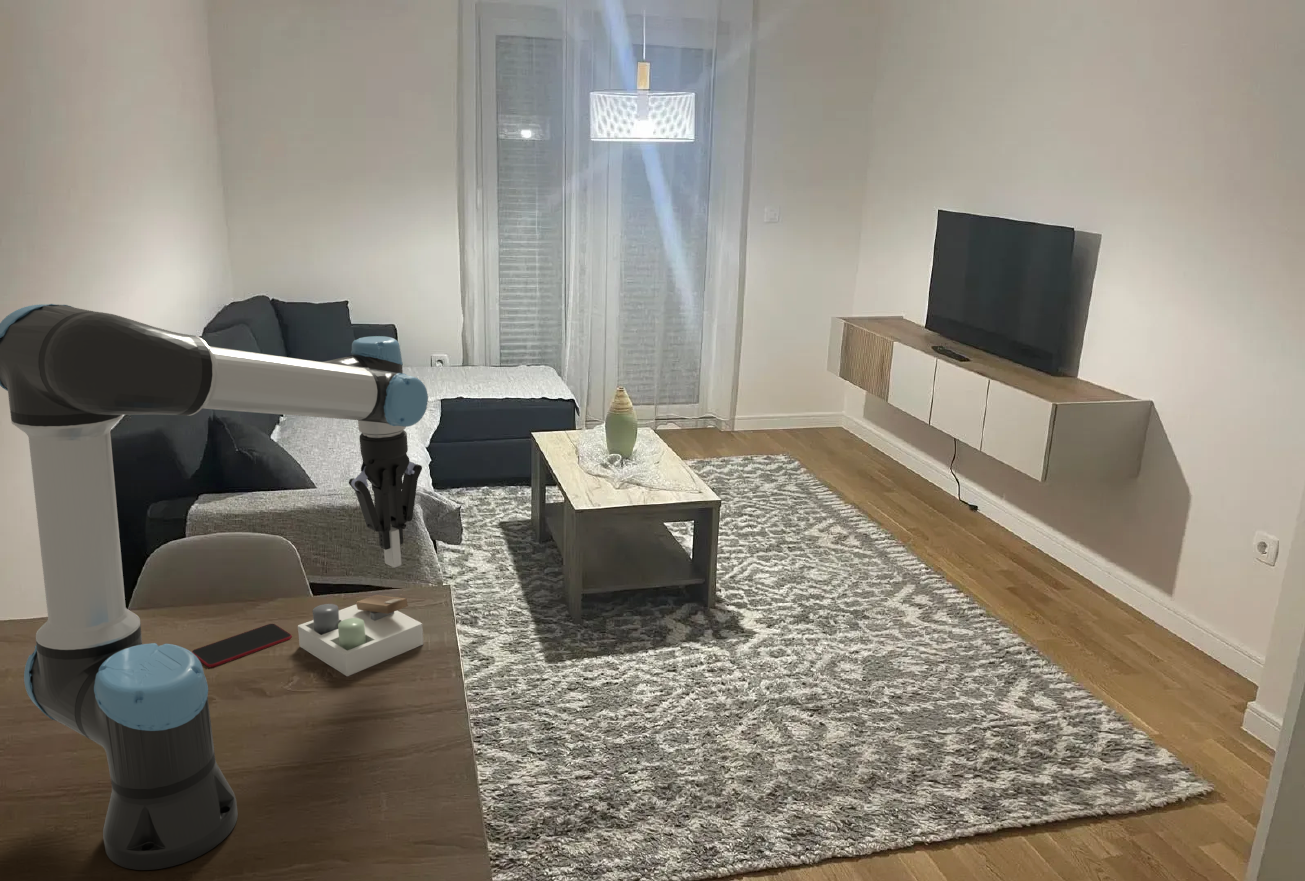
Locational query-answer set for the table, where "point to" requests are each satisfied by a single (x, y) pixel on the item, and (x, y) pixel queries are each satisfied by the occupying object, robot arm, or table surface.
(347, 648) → the button sage
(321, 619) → the button graphite
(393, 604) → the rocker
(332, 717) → the table surface
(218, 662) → the smartphone
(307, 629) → the panel
